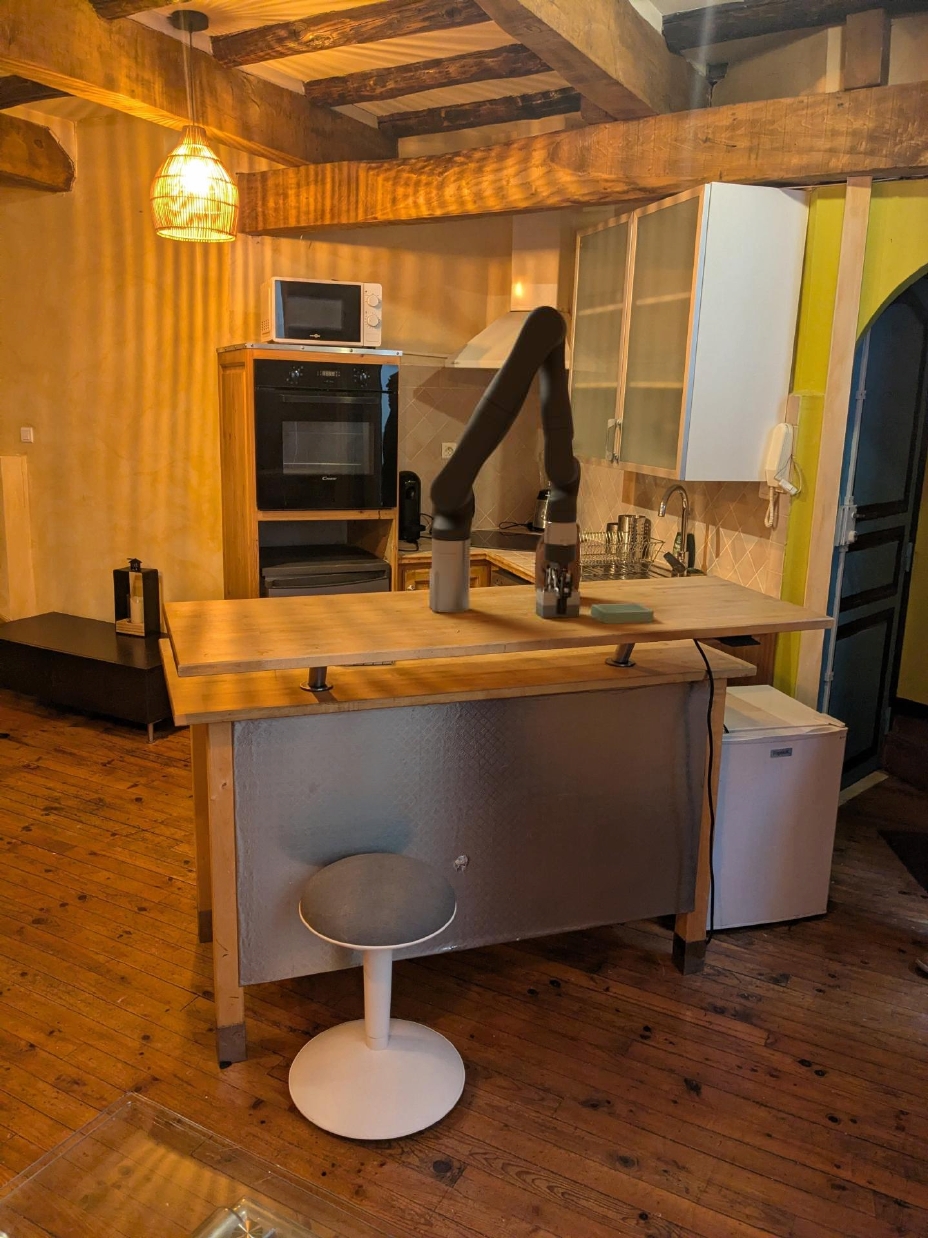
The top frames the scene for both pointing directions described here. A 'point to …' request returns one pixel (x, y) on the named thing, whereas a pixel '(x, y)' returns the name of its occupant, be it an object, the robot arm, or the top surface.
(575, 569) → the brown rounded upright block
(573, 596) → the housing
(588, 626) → the top surface
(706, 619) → the top surface
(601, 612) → the stand
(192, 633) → the top surface
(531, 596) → the top surface
